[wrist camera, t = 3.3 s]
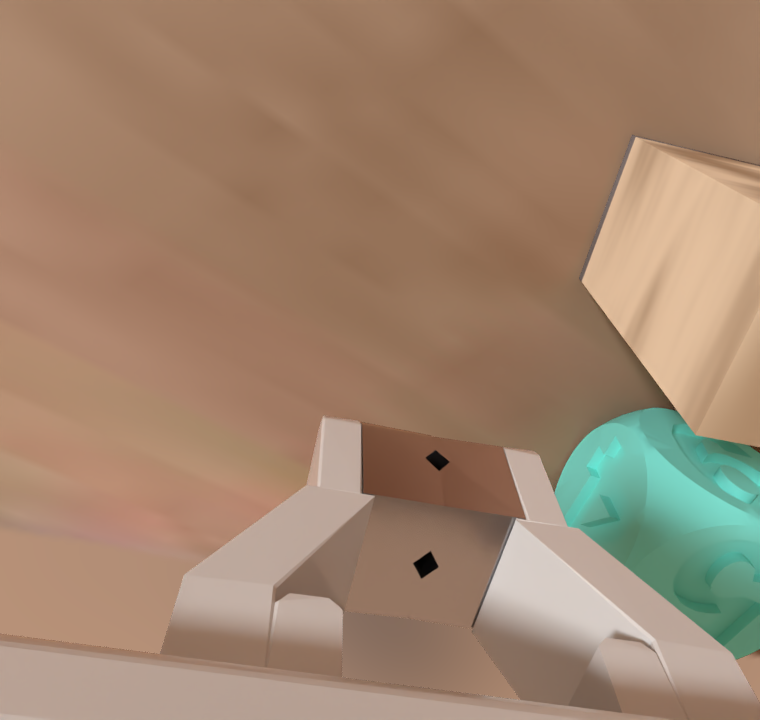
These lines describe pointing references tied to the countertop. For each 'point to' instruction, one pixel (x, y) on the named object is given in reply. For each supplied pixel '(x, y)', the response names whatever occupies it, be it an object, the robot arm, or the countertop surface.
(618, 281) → the birch block
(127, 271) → the countertop surface
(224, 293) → the countertop surface
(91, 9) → the countertop surface
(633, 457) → the decorative dice
